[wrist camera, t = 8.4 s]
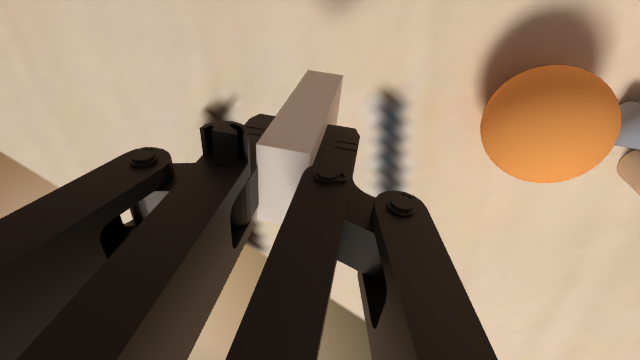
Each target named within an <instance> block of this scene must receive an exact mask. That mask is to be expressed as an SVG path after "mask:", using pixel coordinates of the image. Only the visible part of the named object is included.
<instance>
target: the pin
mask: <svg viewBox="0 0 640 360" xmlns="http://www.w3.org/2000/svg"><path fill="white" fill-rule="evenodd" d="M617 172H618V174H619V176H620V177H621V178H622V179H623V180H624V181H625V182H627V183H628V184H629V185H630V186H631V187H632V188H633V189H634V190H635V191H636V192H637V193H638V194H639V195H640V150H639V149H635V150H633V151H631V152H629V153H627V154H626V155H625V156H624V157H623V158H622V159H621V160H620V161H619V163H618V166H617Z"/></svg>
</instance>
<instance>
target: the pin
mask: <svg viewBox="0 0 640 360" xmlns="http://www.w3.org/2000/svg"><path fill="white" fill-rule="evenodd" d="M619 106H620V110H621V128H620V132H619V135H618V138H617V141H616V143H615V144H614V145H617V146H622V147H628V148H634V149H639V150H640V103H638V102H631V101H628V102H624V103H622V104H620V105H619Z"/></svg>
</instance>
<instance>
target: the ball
mask: <svg viewBox="0 0 640 360" xmlns="http://www.w3.org/2000/svg"><path fill="white" fill-rule="evenodd" d="M620 128H621V110H620V106H619V103H618V100H617V98H616V96H615V94H614V92H613V91H612V90H611V88H610V87H609V86H608V85H607V84H606V83H605V82H604V81H603V80H602V79H601V78H599V77H598V76H596V75H594V74H593V73H591V72H588V71H586V70H584V69H581V68H577V67H573V66H567V65H547V66H541V67H537V68H533V69H530V70H527V71H525V72H522V73H520V74H518V75H516V76H514V77H513V78H511V79H510V80H508V81H507V82H505V83H504V84H503V85H502V86H501V87H500V88H499V89H498V90H497V91H496V92H495V93H494V94H493V95H492V97H491V98H490V100H489V101H488V103H487V105H486V107H485V109H484V112H483V115H482V119H481V125H480V133H481V140H482V143H483V146H484V149H485V151H486V153H487V155H488V156H489V158H490V159H491V160H492V161H493V162H494V164H495V165H496V166H498V167H499V168H500V169H501V170H502V171H504V172H506V173H507V174H509V175H511V176H513V177H515V178H518V179H521V180H524V181H529V182H535V183H554V182H561V181H565V180H569V179H572V178H575V177H578V176H580V175H582V174H584V173H586V172H588V171H589V170H591V169H592V168H594V167H595V166H596V165H598V164H599V163H600V162H601V161H602V160H603V159H604V158H605V157H606V156H607V155H608V154H609V152H610V151H611V149H612V148H613V146H614V144H615V143H616V141H617V138H618V135H619V132H620Z"/></svg>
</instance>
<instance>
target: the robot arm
mask: <svg viewBox="0 0 640 360" xmlns="http://www.w3.org/2000/svg"><path fill="white" fill-rule="evenodd" d="M342 79H343V75H337V74H330V73H324V72H317V71H311V70H308V71H307V72H306V74H305V75H304V77H303V78H302V79H301V81H300V82H299V84H298V85H297V87H296V88H295V89H294V91H293V92H292V94H291V95H290V97H289V98H288V99H287V101H286V102H285V104H284V105H283V106H282V108H281V109H280V111H279V112H278V114H277V115H276V116H271V115H265V114H258V115H256V116H254V117H252V118H250V119H249V120H248V121H247V122H246V124H245V125H242V124H240V123H237V122H233V121H217V122H212V123H208V124H205V125H204V126H202V127H201V128H200V134H201V142H202V149H203V155H202V156H201V158H200V159H199V160H198V161H197V162H196V163H172V159H171V156H170V154H169V152H167V151H165V150H164V149H159V148H154V147H150V148H149V147H144V148H140V149H135V150H132V151H130V152H127V153H125V154H123V155H121V156H119V157H117V158H115V159H113V160H112V161H110V162H108V163H106V164H104V165H102V166H100V167H98V168H96V169H94V170H92V171H91V172H89V173H87V174H85V175H83V176H81V177H79V178H77V179H75V180H73V181H72V182H70V183H68V184H66V185H64V186H62V187H60V188H58V189H56V190H54V191H53V192H51V193H49V194H47V195H45V196H43V197H41V198H39V199H37V200H35V201H33V202H32V203H30V204H28V205H26V206H24V207H22V208H20V209H18V210H16V211H14V212H13V213H11V214H9V215H7V216H5V217H3V218H1V219H0V360H187V359H188V357H189V355H190V353H191V351H192V349H193V347H194V345H195V343H196V341H197V339H198V337H199V335H200V333H201V331H202V329H203V327H204V325H205V323H206V321H207V319H208V317H209V315H210V313H211V311H212V309H213V307H214V305H215V303H216V301H217V299H218V297H219V295H220V293H221V291H222V289H223V287H224V285H225V283H226V281H227V279H228V277H229V275H230V273H231V271H232V269H233V267H234V265H235V263H236V261H237V259H238V257H239V255H240V253H241V251H242V249H243V247H244V245H245V243H246V241H247V239H248V237H249V235H250V233H251V231H252V226H253V224H252V216H253V214H254V212H255V211H256V209H257V211H258V220H262V221H267V222H272V223H277V224H282V225H281V227H280V229H279V232H278V234H277V237H276V239H275V241H274V244H273V246H272V249H271V251H270V253H269V256H268V258H267V261H266V263H265V266H264V268H263V270H262V273H261V275H260V278H259V280H258V282H257V285H256V287H255V290H254V292H253V295H252V297H251V299H250V302H249V304H248V307H247V309H246V311H245V314H244V316H243V319H242V321H241V324H240V326H239V328H238V331H237V333H236V336H235V338H234V340H233V343H232V345H231V348H230V350H229V352H228V355H227V357H226V360H318V356H319V350H320V345H321V340H322V335H323V330H324V324H325V319H326V314H327V309H328V304H329V298H330V293H331V288H332V283H333V278H334V272H335V267H336V263H337V260H338V261H340V262H342V263H344V264H346V265H348V266H350V267H352V268H354V269H356V270H357V271H358V281H359V287H360V292H361V298H362V304H363V310H364V315H365V321H366V327H367V332H368V338H369V344H370V350H371V356H372V360H498V359H497V357H496V355H495V353H494V350H493V348H492V346H491V344H490V342H489V340H488V338H487V336H486V333H485V331H484V329H483V327H482V325H481V323H480V321H479V318H478V316H477V314H476V312H475V310H474V308H473V306H472V303H471V301H470V299H469V297H468V295H467V293H466V291H465V289H464V286H463V284H462V282H461V280H460V278H459V276H458V274H457V271H456V269H455V267H454V265H453V263H452V261H451V259H450V256H449V254H448V252H447V250H446V248H445V246H444V244H443V242H442V239H441V237H440V235H439V233H438V231H437V229H436V227H435V224H434V222H433V220H432V218H431V216H430V214H429V212H428V209H427V208H426V206H425V205H424V204H423V202H422V201H421V200H419V199H418V198H416V197H415V196H413V195H411V194H408V193H406V192H401V191H385V192H383V193H381V194H379V195H378V196H377V197H376V198H375V197H373V196H370V195H368V194H366V193H364V192H363V191H361V190H360V189H359V188H358V187H357V186H356V185H355V184H354V181H353V172H354V166H355V161H356V155H357V150H358V144H359V139H360V136H359V134H358V132H357V131H356V129H354V128H348V127H342V126H336V124H337V116H338V109H339V101H340V94H341V86H342ZM129 208H130V211H131V214H132V217H133V220H131V221H130V222H128V223H126V224H123V223H122V220H121V217H120V214H122V213H123V212H125V211H126V210H128V209H129Z"/></svg>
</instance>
